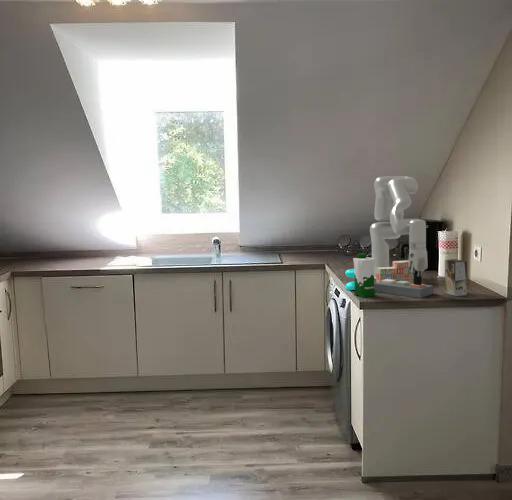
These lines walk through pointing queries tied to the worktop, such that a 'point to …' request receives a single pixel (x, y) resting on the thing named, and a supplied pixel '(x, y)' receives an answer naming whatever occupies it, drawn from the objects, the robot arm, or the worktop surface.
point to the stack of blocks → (395, 272)
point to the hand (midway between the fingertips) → (417, 284)
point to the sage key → (402, 283)
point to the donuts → (351, 274)
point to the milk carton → (364, 275)
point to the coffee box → (456, 277)
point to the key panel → (403, 289)
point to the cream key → (388, 281)
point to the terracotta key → (417, 285)
